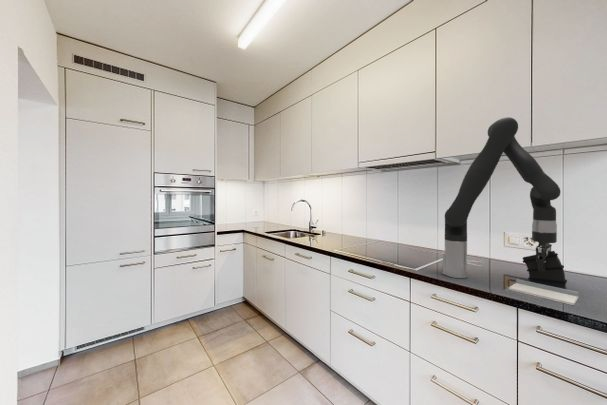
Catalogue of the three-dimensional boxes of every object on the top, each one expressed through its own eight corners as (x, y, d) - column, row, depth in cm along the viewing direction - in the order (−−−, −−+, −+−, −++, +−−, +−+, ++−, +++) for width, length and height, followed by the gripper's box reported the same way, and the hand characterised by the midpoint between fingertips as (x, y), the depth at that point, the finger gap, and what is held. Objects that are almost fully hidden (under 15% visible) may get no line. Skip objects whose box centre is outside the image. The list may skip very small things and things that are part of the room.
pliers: (481, 264, 132) (450, 259, 143) (481, 267, 132) (450, 262, 143) (485, 260, 139) (455, 256, 150) (485, 263, 139) (455, 258, 150)
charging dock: (508, 289, 100) (508, 284, 100) (516, 284, 106) (516, 278, 106) (573, 305, 86) (573, 298, 86) (578, 298, 92) (578, 292, 92)
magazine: (576, 288, 96) (553, 251, 101) (535, 293, 106) (516, 259, 111) (577, 286, 98) (555, 250, 103) (537, 291, 108) (518, 258, 113)
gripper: (536, 228, 112) (536, 264, 112) (527, 231, 103) (527, 270, 104) (560, 230, 106) (559, 268, 106) (552, 233, 97) (552, 275, 98)
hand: (543, 269), depth 105 cm, fingers open, 6 cm apart
